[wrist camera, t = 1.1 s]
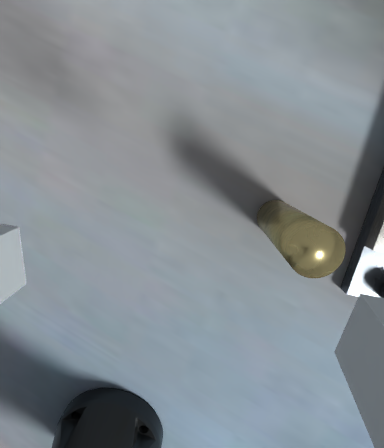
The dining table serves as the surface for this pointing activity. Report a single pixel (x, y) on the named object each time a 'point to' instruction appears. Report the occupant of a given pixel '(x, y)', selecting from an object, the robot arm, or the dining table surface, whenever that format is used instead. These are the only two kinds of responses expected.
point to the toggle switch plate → (369, 252)
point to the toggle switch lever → (302, 239)
